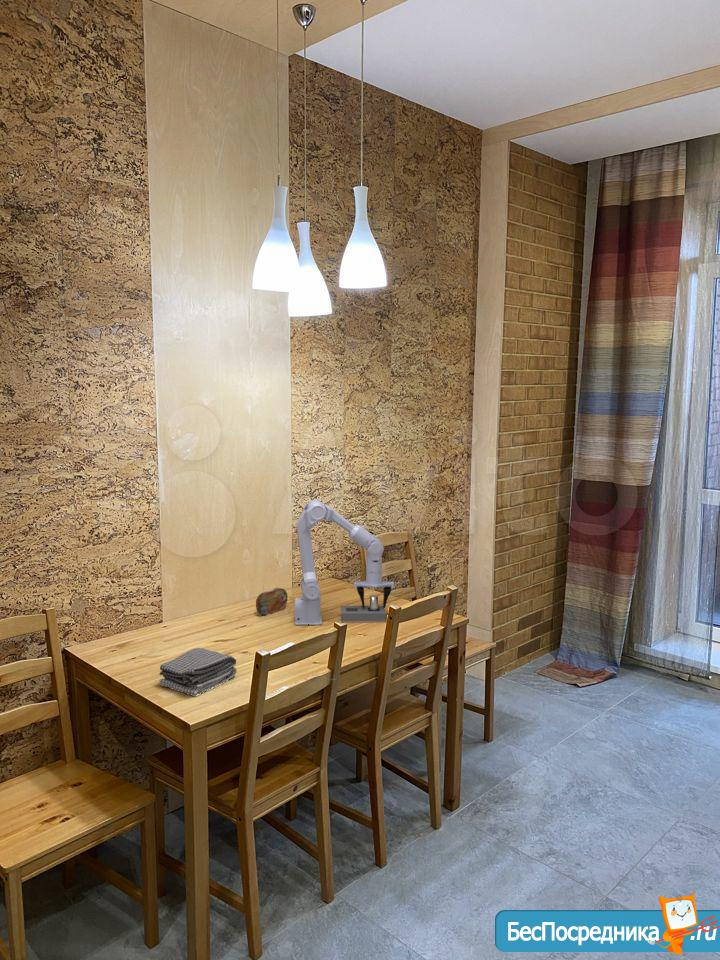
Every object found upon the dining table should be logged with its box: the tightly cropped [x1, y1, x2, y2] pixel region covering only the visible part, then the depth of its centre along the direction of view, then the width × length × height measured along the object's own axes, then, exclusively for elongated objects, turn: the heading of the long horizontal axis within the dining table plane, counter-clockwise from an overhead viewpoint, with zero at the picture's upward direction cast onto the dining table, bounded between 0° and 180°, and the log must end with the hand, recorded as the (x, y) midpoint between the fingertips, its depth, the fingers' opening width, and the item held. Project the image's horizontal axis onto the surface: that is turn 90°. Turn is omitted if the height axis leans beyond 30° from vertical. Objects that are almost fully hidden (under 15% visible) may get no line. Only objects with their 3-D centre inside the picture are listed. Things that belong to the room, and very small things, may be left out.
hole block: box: [340, 605, 387, 624], centre depth 276 cm, size 16×9×4 cm, turn 92°
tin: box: [255, 587, 288, 616], centre depth 284 cm, size 15×3×8 cm, turn 143°
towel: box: [158, 647, 238, 697], centre depth 220 cm, size 15×18×8 cm
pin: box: [369, 594, 379, 611], centre depth 276 cm, size 3×3×8 cm
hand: (373, 607), depth 276 cm, fingers open, 7 cm apart
